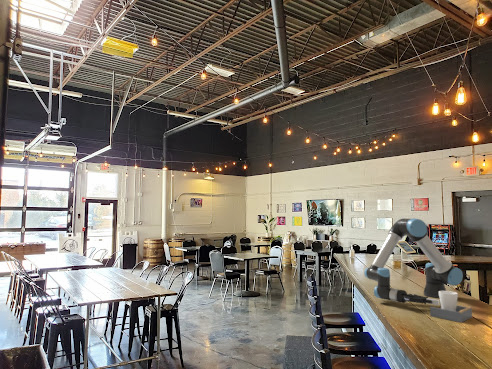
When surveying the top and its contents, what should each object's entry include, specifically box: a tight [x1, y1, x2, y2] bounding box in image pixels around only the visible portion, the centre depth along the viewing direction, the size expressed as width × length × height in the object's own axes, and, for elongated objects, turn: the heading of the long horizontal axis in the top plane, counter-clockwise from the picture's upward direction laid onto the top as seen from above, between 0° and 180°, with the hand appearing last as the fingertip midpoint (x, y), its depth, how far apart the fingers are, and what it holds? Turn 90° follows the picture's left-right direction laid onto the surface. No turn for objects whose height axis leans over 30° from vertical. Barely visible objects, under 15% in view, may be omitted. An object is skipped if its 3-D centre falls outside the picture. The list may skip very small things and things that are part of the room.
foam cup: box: [438, 290, 459, 311], centre depth 205 cm, size 10×9×13 cm
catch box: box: [429, 305, 473, 323], centre depth 203 cm, size 16×16×6 cm
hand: (438, 302), depth 208 cm, fingers closed
